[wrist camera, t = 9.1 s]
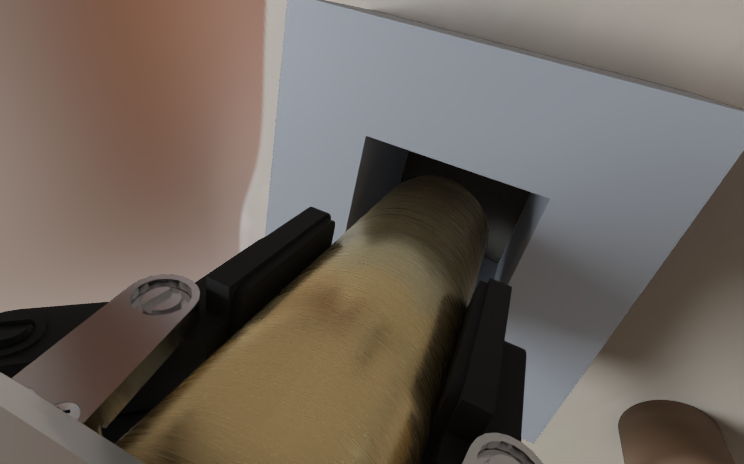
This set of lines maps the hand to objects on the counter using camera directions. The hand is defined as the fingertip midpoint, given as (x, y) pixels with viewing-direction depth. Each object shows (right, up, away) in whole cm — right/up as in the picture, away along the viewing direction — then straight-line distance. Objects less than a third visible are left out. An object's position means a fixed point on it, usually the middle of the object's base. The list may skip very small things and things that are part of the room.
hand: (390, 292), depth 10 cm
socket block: (+3, +4, +7) cm, 9 cm away
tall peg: (+2, +2, +4) cm, 4 cm away
